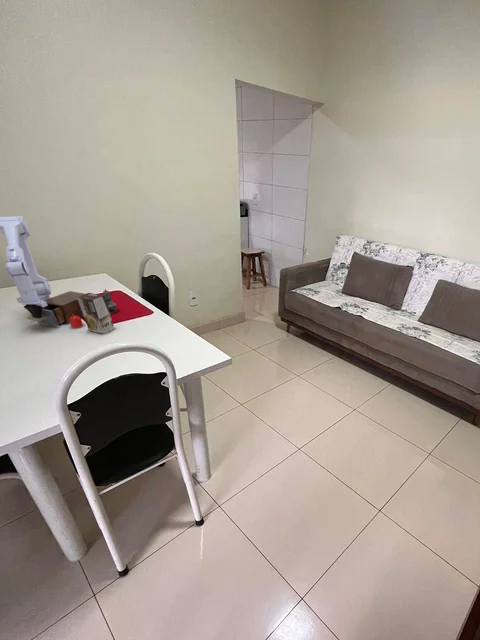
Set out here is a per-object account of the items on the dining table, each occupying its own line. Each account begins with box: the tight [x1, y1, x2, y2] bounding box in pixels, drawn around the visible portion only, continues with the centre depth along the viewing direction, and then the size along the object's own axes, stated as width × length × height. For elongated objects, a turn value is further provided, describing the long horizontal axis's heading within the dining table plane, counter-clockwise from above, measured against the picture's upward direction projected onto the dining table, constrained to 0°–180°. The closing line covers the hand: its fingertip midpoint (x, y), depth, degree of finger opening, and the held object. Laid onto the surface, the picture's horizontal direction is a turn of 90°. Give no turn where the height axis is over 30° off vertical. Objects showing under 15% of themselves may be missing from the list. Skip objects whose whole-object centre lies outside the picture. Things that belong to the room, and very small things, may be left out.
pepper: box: [69, 314, 84, 329], centre depth 149 cm, size 5×5×6 cm
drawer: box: [26, 304, 67, 327], centre depth 151 cm, size 20×11×7 cm, turn 163°
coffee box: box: [77, 292, 115, 335], centre depth 145 cm, size 9×6×16 cm
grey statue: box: [102, 288, 119, 315], centre depth 163 cm, size 6×6×12 cm
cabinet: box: [44, 290, 85, 325], centre depth 158 cm, size 16×13×9 cm
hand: (39, 319), depth 146 cm, fingers closed, pressing on drawer
